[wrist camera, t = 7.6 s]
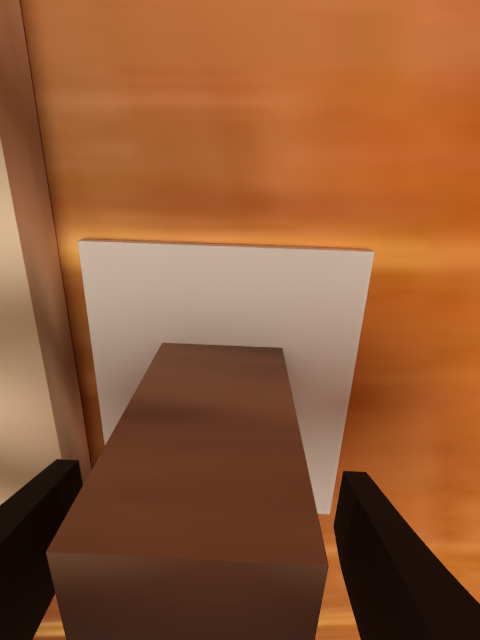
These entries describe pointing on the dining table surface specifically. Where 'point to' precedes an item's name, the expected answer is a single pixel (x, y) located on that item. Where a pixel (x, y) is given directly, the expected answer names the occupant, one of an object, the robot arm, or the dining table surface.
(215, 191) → the dining table surface
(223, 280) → the felt pad
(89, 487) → the block
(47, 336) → the pocket board
